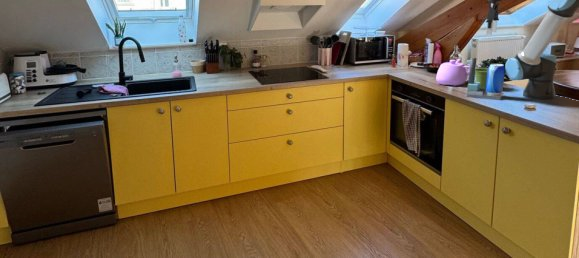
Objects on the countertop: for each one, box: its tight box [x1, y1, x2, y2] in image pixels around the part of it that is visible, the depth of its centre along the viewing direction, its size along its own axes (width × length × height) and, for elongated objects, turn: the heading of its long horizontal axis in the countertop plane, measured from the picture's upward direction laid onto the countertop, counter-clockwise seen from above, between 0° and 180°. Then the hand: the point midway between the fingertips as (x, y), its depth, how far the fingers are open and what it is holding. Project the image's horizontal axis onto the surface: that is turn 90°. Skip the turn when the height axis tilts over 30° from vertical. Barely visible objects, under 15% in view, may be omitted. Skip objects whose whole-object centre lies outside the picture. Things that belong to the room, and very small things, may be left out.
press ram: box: [466, 57, 480, 92], centre depth 238 cm, size 6×8×19 cm
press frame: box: [466, 88, 505, 101], centre depth 237 cm, size 17×11×4 cm, turn 56°
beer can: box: [486, 63, 506, 95], centre depth 233 cm, size 8×8×16 cm
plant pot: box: [475, 67, 489, 88], centre depth 255 cm, size 12×12×11 cm
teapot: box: [435, 58, 470, 87], centre depth 270 cm, size 23×21×15 cm
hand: (491, 33), depth 243 cm, fingers open, 13 cm apart
